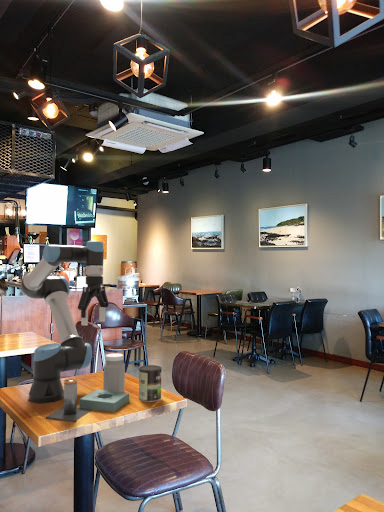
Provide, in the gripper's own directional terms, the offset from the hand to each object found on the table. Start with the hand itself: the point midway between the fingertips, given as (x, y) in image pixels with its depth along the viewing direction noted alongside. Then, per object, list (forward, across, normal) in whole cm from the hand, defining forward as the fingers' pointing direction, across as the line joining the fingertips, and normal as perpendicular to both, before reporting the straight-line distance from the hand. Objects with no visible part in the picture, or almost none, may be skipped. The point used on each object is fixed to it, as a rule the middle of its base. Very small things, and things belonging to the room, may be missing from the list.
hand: (93, 323), depth 180 cm
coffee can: (+34, +12, -22) cm, 43 cm away
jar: (+34, +13, -3) cm, 37 cm away
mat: (+34, -17, -1) cm, 38 cm away
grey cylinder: (+34, -17, -1) cm, 38 cm away
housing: (+34, -3, -8) cm, 35 cm away
